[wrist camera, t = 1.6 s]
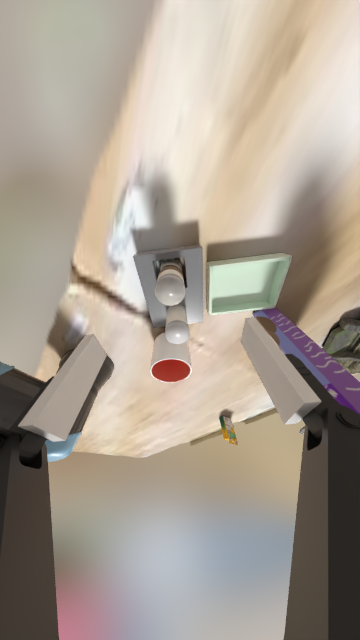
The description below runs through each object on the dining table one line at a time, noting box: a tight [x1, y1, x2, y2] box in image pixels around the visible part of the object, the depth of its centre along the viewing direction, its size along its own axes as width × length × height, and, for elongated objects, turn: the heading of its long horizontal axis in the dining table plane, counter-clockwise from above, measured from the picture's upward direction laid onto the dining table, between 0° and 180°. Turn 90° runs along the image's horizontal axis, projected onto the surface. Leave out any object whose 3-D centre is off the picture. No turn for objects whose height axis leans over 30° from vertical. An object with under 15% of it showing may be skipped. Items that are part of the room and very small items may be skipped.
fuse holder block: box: [133, 244, 203, 344], centre depth 27 cm, size 12×16×11 cm
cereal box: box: [253, 308, 360, 415], centre depth 31 cm, size 17×5×24 cm, turn 37°
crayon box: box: [219, 416, 238, 445], centre depth 74 cm, size 7×3×12 cm, turn 48°
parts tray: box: [206, 253, 293, 315], centre depth 30 cm, size 15×11×3 cm
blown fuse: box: [155, 258, 185, 306], centre depth 25 cm, size 4×4×11 cm
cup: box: [150, 332, 192, 383], centre depth 38 cm, size 10×10×10 cm
